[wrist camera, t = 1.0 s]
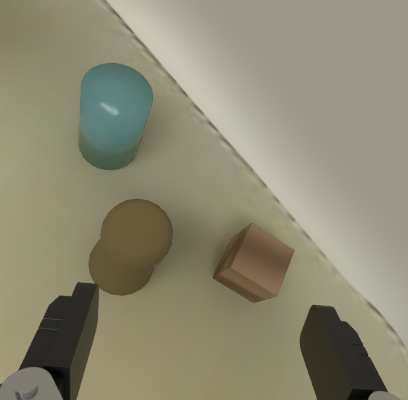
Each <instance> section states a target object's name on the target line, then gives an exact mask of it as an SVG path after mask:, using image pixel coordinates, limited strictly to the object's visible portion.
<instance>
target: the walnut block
mask: <svg viewBox="0 0 408 400" xmlns="http://www.w3.org/2000/svg"><path fill="white" fill-rule="evenodd" d="M294 251H295V250H293V249H292V248H290V247H289V246H287V245H285V244H284V243H282V242H281V241H279V240H277V239H276V238H274V237H273V236H271V235H270V234H268V233H266V232H265V231H263V230H262V229H260V228H259V227H257V226H255V225H254V224H252V223H251V224H250V225H249V226H247V227H246V228H245V229H243V230H242V231H241V232H239V233H238V234H237V235H235V236H234V237H233V238H232V239H231V241H230V243H229V245H228V247H227V249H226V251H225V253H224V255H223V258H222V260H221V262H220V264H219V266H218V268H217V270H216V272H215V274H214V276H213V278H214V279H215V280H217V281H219V282H220V283H222V284H224V285H225V286H227V287H228V288H230V289H232V290H233V291H235V292H237V293H238V294H240V295H241V296H243V297H245V298H246V299H248V300H250V301H251V302H253V303H255V302H259V301H262V300H265V299H268V298H271V297H275V296H277V294H278V292H279V289H280V287H281V284H282V282H283V279H284V276H285V274H286V271H287V269H288V266H289V263H290V261H291V258H292V256H293V253H294Z"/></svg>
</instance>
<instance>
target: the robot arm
mask: <svg viewBox="0 0 408 400" xmlns="http://www.w3.org/2000/svg"><path fill="white" fill-rule="evenodd" d="M98 303H99V284H91V283H80V282H78V283H77V284H76V287H75V289H74V292H73V294H72V296H59V297H58V298H57V299H56V300H54V301H53V302H52V303H51V304H50V305H49V306H48V309H47V311H46V313H45V315H44V317H43V320H42V321H41V324H40V326H39V329H38V330H37V332H36V334H35V336H34V338H33V341H32V343H31V345H30V347H29V349H28V351H27V353H26V356H25V358H24V360H23V362H22V364H21V366H20V368H19V370H18V371H17V372H15V373H13V374H12V375H10V376H9V377H8V378H7V379H6V380H5V381H4V382H3V383H2V384H0V400H76V399H77V395H78V392H79V388H80V385H81V381H82V378H83V374H84V371H85V367H86V364H87V360H88V357H89V353H90V350H91V346H92V343H93V339H94V336H95V332H96V327H97V321H98ZM300 348H301V352H302V355H303V358H304V361H305V364H306V367H307V370H308V373H309V376H310V379H311V382H312V385H313V388H314V391H315V394H316V397H317V400H400V399H399V398H398V397H396V396H394V395H393V394H390V393H388V391H387V389H386V387H385V385H384V383H383V381H382V379H381V378H380V376H379V374H378V372H377V370H376V368H375V366H374V364H373V362H372V360H371V359H370V357H368V353H367V351H366V349H365V347H363V343H362V341H361V340H360V338H359V336H358V334H357V332H356V331H355V330H354V329H353V328H352V327H351V326H350V325H349V324H348V323H347V322H344V321H341V320H340V318H339V316H338V314H337V312H336V310H335V309H334V307H332V306H321V305H312V306H311V308H310V310H309V313H308V315H307V318H306V321H305V324H304V326H303V329H302V332H301V335H300Z"/></svg>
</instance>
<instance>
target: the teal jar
mask: <svg viewBox="0 0 408 400" xmlns="http://www.w3.org/2000/svg"><path fill="white" fill-rule="evenodd" d="M152 101H153V93H152V89H151V87H150V85H149V83H148V81H147V80H146V79H145V78H144V76H142V75H141V74H140V73H139V72H137V71H136V70H134V69H133V68H130V67H128V66H125V65H122V64H116V63H106V64H101V65H98V66H96V67H94V68H92V69H90V70H89V71H88V72H87V73H86V75H85V76H84V78H83V80H82V84H81V102H80V125H79V149H80V152H81V154H82V155H83V157H84V158H85V159H86V160H87V161H88V162H89V163H90V164H92V165H93V166H95V167H97V168H100V169H105V170H116V169H120V168H123V167H125V166H126V165H128V164H129V163H130V162H131V161H132V160H133V159H134V157H135V155H136V152H137V148H138V145H139V142H140V139H141V136H142V133H143V130H144V127H145V124H146V120H147V117H148V114H149V111H150V108H151V105H152Z"/></svg>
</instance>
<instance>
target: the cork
mask: <svg viewBox="0 0 408 400" xmlns="http://www.w3.org/2000/svg"><path fill="white" fill-rule="evenodd" d="M172 236H173V230H172V226H171V221H170V219H169V218H168V216H167V214H166V213H165V212H164V211H163V210H162V209H161V208H160V207H159V206H158V205H156V204H154V203H152V202H150V201H147V200H141V199H133V200H127V201H125V202H122V203H120V204H118V205H116V206H115V207H114V208H113V209H112V210H111V211H110V212H109V213H108V214H107V216H106V218H105V219H104V221H103V224H102V230H101V239H100V240H99V241H98V243H97V244H96V245H95V247H94V248H93V250H92V252H91V254H90V259H89V270H90V275H91V277H92V279H93V280H94V282H95V284H99V287H100V288H101V289H102V290H103V291H105V292H108V293H110V294H112V295H122V296H123V295H127V294H132V293H134V292H136V291H138V290H139V289H141V288H142V287H143V286H144V285H145V284H146V283H147V282H148V280H149V278H150V276H151V274H152V271H153V268H154V265H156V264H157V263H159V262H160V261H161V260H162V259H163V258H164V256H165V255H166V254H167V253H168V251H169V249H170V246H171V244H172Z"/></svg>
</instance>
